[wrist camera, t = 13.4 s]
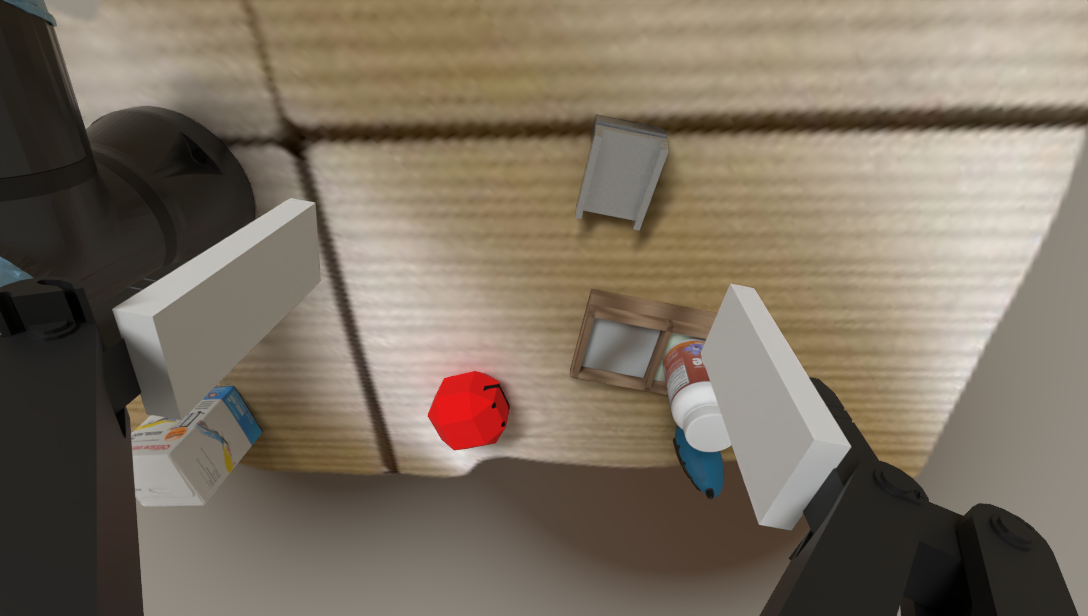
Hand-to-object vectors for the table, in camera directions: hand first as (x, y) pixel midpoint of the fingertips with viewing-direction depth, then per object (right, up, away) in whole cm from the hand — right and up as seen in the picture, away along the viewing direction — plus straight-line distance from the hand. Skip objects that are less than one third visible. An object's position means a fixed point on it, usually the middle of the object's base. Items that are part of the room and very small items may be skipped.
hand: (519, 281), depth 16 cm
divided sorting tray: (+13, -5, +39) cm, 41 cm away
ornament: (+19, -16, +45) cm, 51 cm away
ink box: (-42, -14, +49) cm, 66 cm away
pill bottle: (+17, -6, +38) cm, 42 cm away
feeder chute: (+7, +12, +29) cm, 32 cm away
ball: (-7, -11, +44) cm, 46 cm away
